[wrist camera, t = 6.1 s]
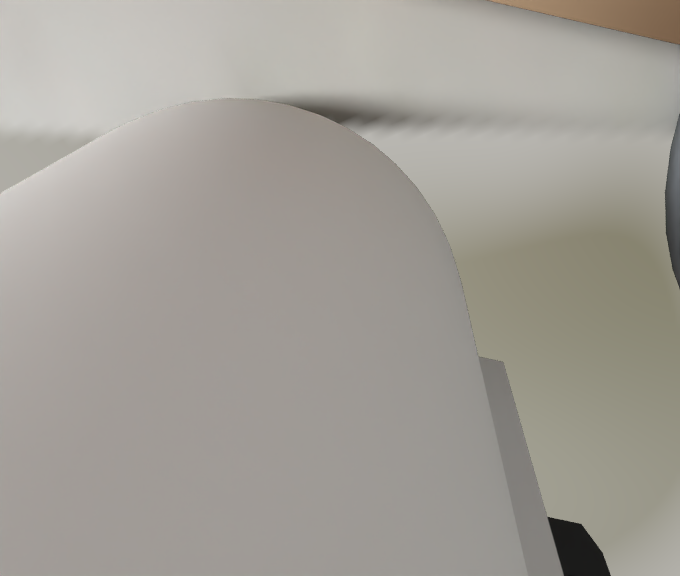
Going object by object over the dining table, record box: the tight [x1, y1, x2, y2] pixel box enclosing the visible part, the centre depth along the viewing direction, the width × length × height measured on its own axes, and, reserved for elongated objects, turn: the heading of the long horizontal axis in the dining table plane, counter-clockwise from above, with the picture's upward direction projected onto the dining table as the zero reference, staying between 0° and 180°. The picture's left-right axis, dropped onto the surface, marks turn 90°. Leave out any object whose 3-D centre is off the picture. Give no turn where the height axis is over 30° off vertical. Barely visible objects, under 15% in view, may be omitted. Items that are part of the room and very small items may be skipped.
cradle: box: [487, 0, 680, 45], centre depth 13 cm, size 20×19×2 cm
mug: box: [0, 98, 528, 576], centre depth 9 cm, size 12×8×10 cm
